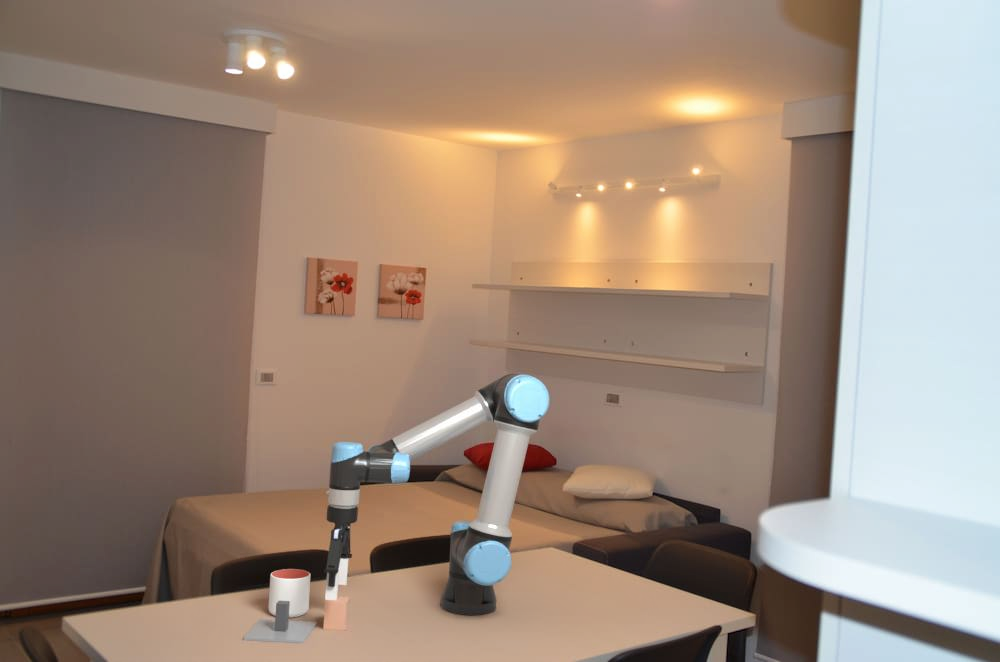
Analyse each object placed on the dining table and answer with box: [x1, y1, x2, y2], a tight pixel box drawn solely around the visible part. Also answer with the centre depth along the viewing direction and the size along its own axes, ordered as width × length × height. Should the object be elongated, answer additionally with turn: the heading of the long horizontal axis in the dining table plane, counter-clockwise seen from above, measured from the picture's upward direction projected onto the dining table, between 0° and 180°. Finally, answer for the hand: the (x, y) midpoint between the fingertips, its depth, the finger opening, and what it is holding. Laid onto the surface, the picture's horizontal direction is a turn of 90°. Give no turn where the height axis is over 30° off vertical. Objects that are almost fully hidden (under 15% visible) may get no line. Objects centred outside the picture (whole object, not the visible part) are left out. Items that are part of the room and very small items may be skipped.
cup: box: [268, 568, 312, 619], centre depth 222 cm, size 10×10×10 cm
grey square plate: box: [243, 601, 318, 644], centre depth 207 cm, size 14×14×7 cm
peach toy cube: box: [323, 595, 351, 631], centre depth 213 cm, size 5×5×7 cm
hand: (336, 591), depth 213 cm, fingers open, 13 cm apart
